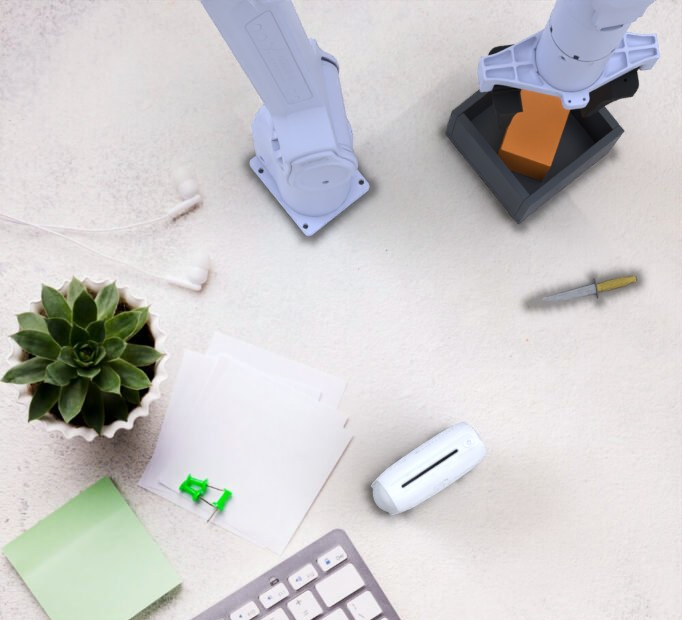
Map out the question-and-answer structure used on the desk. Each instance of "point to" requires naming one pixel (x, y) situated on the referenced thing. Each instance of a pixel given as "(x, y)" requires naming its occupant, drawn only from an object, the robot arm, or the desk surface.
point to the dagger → (592, 289)
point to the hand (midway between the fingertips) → (542, 112)
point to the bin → (516, 189)
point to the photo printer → (428, 469)
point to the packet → (534, 135)
